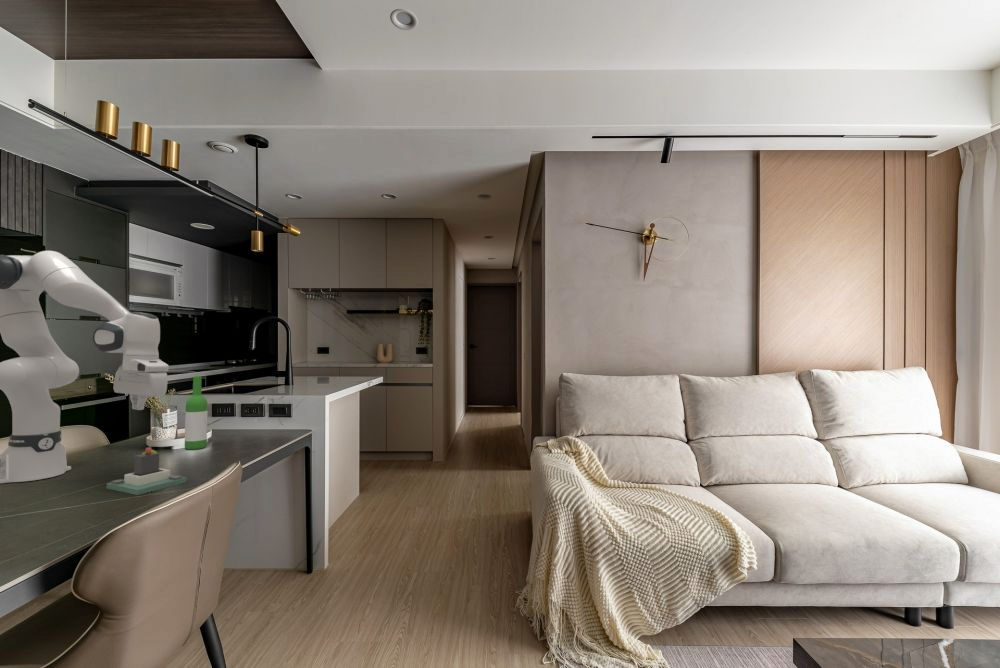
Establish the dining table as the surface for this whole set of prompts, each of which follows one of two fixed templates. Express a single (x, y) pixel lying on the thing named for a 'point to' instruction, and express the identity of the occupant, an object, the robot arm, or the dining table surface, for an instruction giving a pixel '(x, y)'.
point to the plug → (146, 463)
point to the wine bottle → (196, 418)
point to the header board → (146, 482)
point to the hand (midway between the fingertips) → (138, 409)
